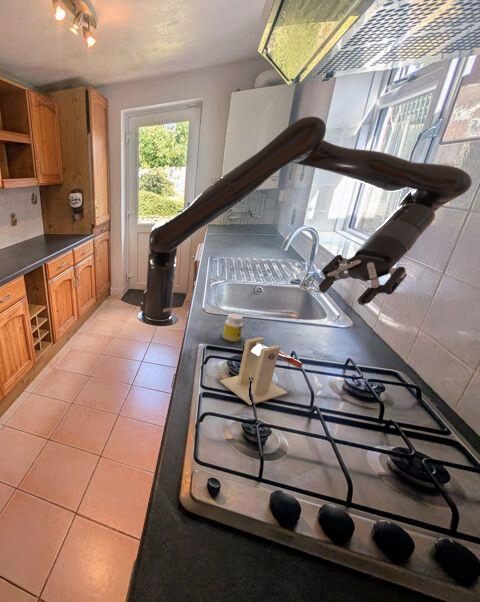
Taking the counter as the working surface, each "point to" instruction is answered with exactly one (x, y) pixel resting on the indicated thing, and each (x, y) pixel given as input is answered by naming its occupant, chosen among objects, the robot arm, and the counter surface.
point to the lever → (281, 355)
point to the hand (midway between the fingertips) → (339, 296)
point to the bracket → (256, 374)
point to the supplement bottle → (233, 328)
